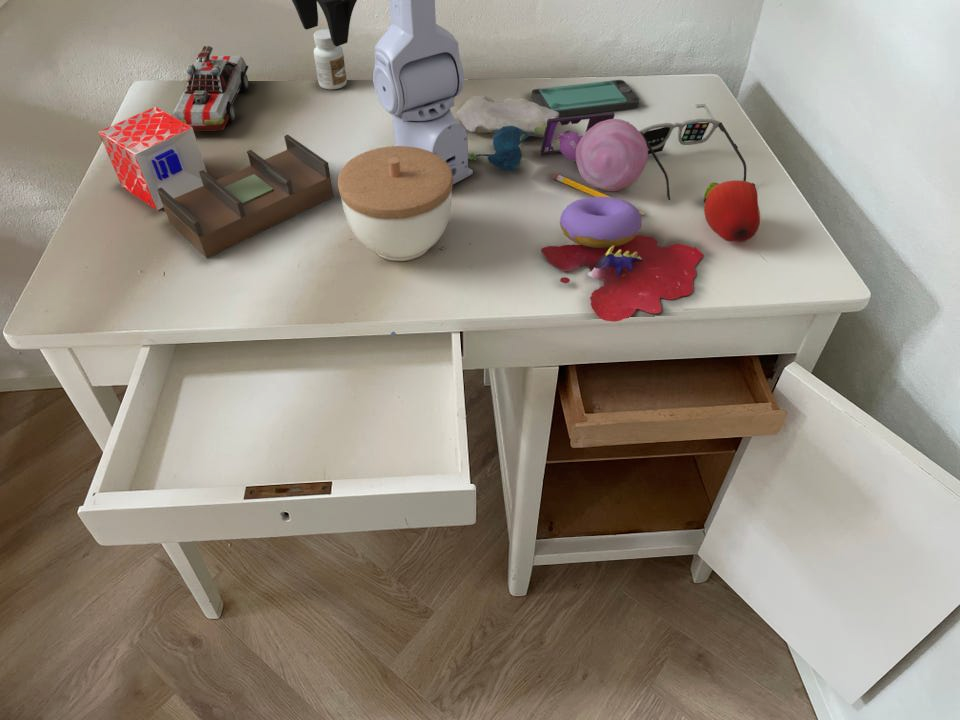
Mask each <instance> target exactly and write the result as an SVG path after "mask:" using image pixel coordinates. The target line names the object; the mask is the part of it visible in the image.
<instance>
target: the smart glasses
mask: <svg viewBox="0 0 960 720" xmlns="http://www.w3.org/2000/svg"><path fill="white" fill-rule="evenodd" d="M694 106H695V108H696V109H704V110H705V112H706V113H707V115H708V116H709V118H695V119H689V120H685V121H683V122H675V123H671V122H664V123H657V124H652V125H649V126H647V127H644V128H642V129H640V130H638V131H639V132H640V133H641V134H642V136H643V137H644V139H645V141H646V144H647V149H648V155H652V157H653V159H654V160H655V162H656V163H657V165H658V167H659V169H660V170H661V172H662V173H663V176H664V178H665V183H666V197H667V200H668V201H670V200H671V194H670V182H669V177H668V174H667V172H666V170H665V167H664V166H663V164H662V163H661V161H660V159H659V158H658V156H657V154H656V153H661V152H663V150H664V149H665V148H664V147H665V145H666V144H667V142H668V140H669V138H670V137H671V134H672V132H673V131H674V129H675V128H678V131H677V141H678V142H679V144H680V145H682V146H691V145H699V144H703V143H705V142H707V141H709V139H710V138H711V137H712V135H713V134H714V132H715V131H716V130H717V129H718V128H719V130H720V132H722V133H724V135H725V137H726V138H727V140H728V142H729V143H730V145H731V147H732V148H733V150H734V152H735V153H736V155H737V156H738V159H739V160H740V161H741V163H742V166H743V167H742V168H743V180H742V181H747V170H748V169H747V163H746V160H745V158H744V156H743V155H742V154H741V151H740V150H739V149H738V145H737V144H736V143H735V142H734V140H733V139H732V137H731V135H730V134H729V132H728V130H727V129H726V127H725V126H724V124H723V122H722V121H720V120H717V119H716V118H715V116H714V114H712V112H711V110H710V109H709V106H707V104H706V103H696V104H695V105H694ZM710 124H712V127H711V129H710V130H709V132H708V134H707V135H706V136H705V134H706V132H707V130H708V128H709V125H710ZM683 130H684V132H683ZM704 136H705V137H704Z"/></svg>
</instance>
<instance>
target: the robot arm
mask: <svg viewBox="0 0 960 720" xmlns="http://www.w3.org/2000/svg"><path fill="white" fill-rule="evenodd" d="M357 1H358V0H291V2H292V4H293V6H294V8H295V10H296V13H297V16H298V17H299V20H300V22H301V24H302V27H303V29H304V30H306V31H308V30H310V29H314V28H317V27H318V26H319V11H318V5H319V7H320V9H321V10H322V13H323V16H324V17H325V20H326V24H327V27H328V29H329V32H330V36H331V39H332V42H333V44H334V45H335V46H342V45H345V44H347V43H348V42H349V34H350V33H349V32H350V24H351V19H352V15H353V11H354V8H355V7H356V3H357ZM388 3H389V15H390V26H389V27H388V28H387V30H386V32H385V33H384V34H383V35H382V36H381V38H379V40H378V42H376V44H375V46H374V69H373V72H372V81H373V88H374V91H375V94H376V97H377V100H378V102H379V103H380V105H381V106H382V108H383V109H384V110H385V111H386V112H388V113H389V114H390V115H391V117H392V118H391V119H392V128H393V137H394V138H393V139H394V146H408V147H416V148H421V149H424V150H428V151H430V152H432V153H434V154H436V155H438V156H440V157H441V158H442V159H443V160H444V161H445V162H446V163H447V164H448V165H449V167H450V169H451V170H452V175H453V185H455V184H457V183H458V182H460V181H463V180H465V179H466V178H468V177H470V176H472V175H473V174H474V172H473V171H474V170H473V169H471V168H470V167H469V159H468V152H469V138H468V137H469V136H468V131H467V129H466V128H465V127H464V125H463V124H461V122H460V121H458V119H457V118H456V117H455V116H454V114H453V112H452V109H451V108H453V107H455V106H456V105H455V103H456V101H455V98H456V97H458V96H459V95H460V94H461V93H462V91H463V87H464V83H465V73H464V67H463V63H462V61H461V57H460V50H459V41H458V40H457V38H455V36H454V34H452V32H450V31H449V30H448V29H446V28H444V27H443V26H441V25H439V24H437V18H436V17H437V16H436V14H437V13H436V0H388Z"/></svg>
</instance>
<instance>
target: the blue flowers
mask: <svg viewBox="0 0 960 720" xmlns="http://www.w3.org/2000/svg"><path fill="white" fill-rule="evenodd" d="M545 124H546V122H545V121H542V122H541V123H540V124H538V125H537V126H536V127H535V129H534V130H535V132H533V133H536V134H541V132H542V131H543V130H544V129H545V128H546V127H547V124H546V125H545ZM544 125H545V126H544ZM543 126H544V127H543ZM533 133H531V134H529V135H528V134H527V133H525V132H524V131H522V130H521V129H519V128H518V127H514V126H504V127H502V128H501V129H500V130H499V131H498V132H497V133H493V137H492V145H493V149H494V151H495V152H494V153H486V154H485V153H484V154H483V153H479V154H475V152H470V151H468V160H474V161H475V160H476V159H477V157H487V160H488V161H489V163H490V164H491V165H493V166H494V167H496V168H499V169H502V170H505V171H506V170H507V171H513V170H516V169H517V168H518V167H519V166H520V164H521V162H522V158H523V154H522V145H523V142H524V141H525V140H527V139H528V137H531V136H530V135H532V134H533ZM527 135H528V136H527Z"/></svg>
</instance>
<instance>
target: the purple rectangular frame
mask: <svg viewBox="0 0 960 720" xmlns="http://www.w3.org/2000/svg"><path fill="white" fill-rule="evenodd" d="M615 116H616V115H615V112H614V111H609V112H599V113H590V114H582V115H573V116H565V117H558V118H555V117H552V118H550V119H548V120H547V127H546V129H545V133H544V137H542V143H541V147H540V155H541V156H548V155H556V154H557V155H558V154H562V155H563V156H564V157H565V158H566V159H568V160H570V161H573V162H576V148H577V145H578V143H579V141H580V140H581V138H582V137H583V135H580V134H579V133H578V132H576V131H573V130H567V131H566V130H565V131H561V133H558V135H557V136H555V138H554V134H555V130H556V129H557V127H558V125H559V124H560V125H561V126H568V125H569V124H570V123H571V125H578V124H579V123H580V122H581V121H582V120H583V121H584V120H588V123H587V126H586V129H585V132H584V134H585V133H586V132H587V131H588V130H589V129H590V128H591V127H593V126H594V125H595V124H597V123H599V122H602V121H605V120H609V119H615ZM553 138H554V140H557V139H559V140H558V141H559V149H555V150H554V147H553V146H552V142H553ZM546 148H547V150H546Z"/></svg>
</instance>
